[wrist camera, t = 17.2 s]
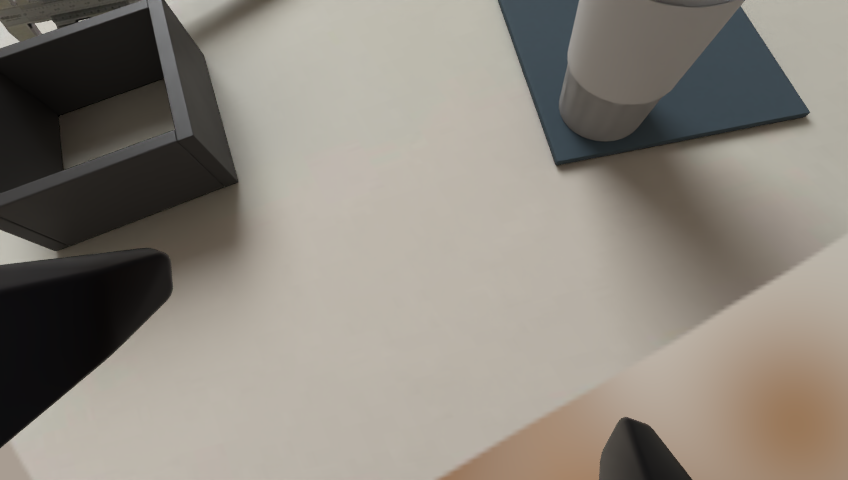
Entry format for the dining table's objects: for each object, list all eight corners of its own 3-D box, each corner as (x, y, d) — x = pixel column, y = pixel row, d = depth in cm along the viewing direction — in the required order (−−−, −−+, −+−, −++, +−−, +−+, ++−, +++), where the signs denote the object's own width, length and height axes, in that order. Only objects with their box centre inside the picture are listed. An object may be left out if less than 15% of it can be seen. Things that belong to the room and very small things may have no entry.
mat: (804, 117, 23) (810, 112, 23) (555, 165, 23) (557, 162, 23) (685, -68, 29) (688, -74, 29) (487, -30, 29) (487, -35, 29)
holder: (238, 182, 24) (193, 135, 20) (55, 252, 23) (-32, 218, 19) (203, 55, 28) (160, -7, 24) (45, 111, 27) (-29, 57, 23)
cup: (691, 121, 23) (910, -144, 12) (597, 182, 22) (739, -44, 11) (602, 42, 26) (715, -238, 14) (514, 94, 25) (562, -163, 14)
